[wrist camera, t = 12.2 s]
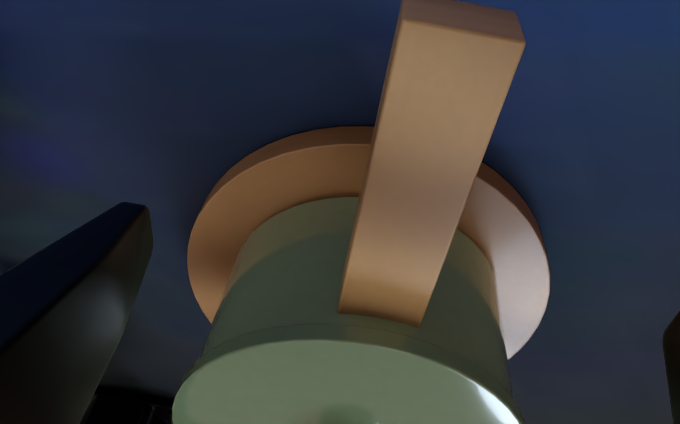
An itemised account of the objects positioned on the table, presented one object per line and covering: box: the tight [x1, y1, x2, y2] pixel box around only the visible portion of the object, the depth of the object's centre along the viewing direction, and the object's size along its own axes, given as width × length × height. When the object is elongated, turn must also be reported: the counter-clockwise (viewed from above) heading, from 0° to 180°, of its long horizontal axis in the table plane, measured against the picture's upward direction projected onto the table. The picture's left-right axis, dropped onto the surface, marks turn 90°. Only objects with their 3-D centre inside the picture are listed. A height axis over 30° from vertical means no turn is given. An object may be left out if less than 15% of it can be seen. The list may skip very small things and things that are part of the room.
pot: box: [172, 0, 526, 424], centre depth 18 cm, size 20×12×8 cm, turn 172°
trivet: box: [187, 126, 550, 359], centre depth 25 cm, size 15×15×1 cm
